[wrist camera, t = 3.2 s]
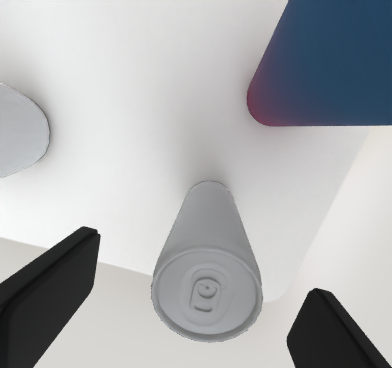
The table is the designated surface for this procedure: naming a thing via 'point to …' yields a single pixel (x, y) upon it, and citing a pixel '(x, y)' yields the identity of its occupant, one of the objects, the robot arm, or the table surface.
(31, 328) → the robot arm
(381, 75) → the cup
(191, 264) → the beverage can
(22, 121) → the mug
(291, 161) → the table surface
